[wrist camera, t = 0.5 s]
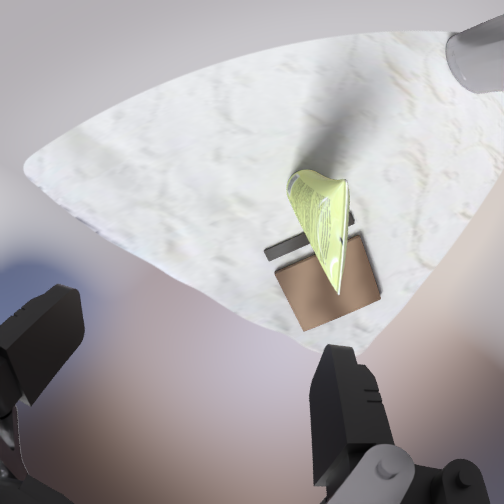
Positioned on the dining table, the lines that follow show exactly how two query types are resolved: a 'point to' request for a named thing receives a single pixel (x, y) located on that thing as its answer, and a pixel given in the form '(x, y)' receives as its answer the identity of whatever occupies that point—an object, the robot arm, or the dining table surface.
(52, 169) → the dining table surface
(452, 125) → the dining table surface
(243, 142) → the dining table surface
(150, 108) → the dining table surface
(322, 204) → the tube
